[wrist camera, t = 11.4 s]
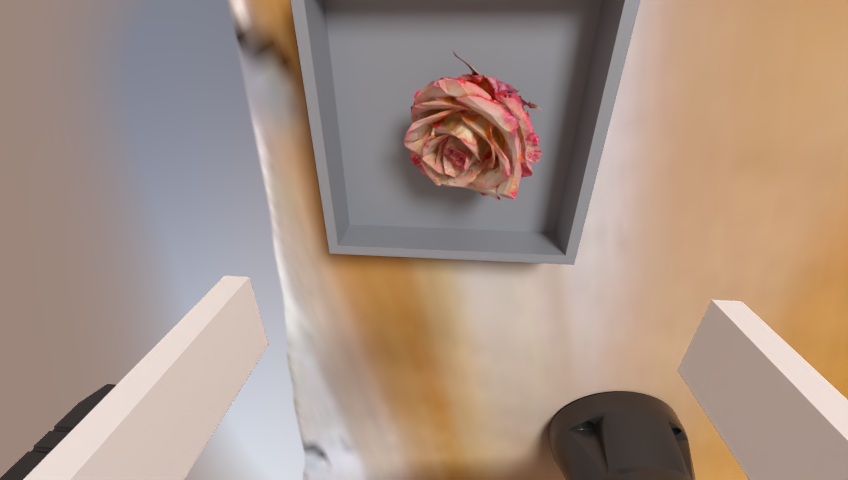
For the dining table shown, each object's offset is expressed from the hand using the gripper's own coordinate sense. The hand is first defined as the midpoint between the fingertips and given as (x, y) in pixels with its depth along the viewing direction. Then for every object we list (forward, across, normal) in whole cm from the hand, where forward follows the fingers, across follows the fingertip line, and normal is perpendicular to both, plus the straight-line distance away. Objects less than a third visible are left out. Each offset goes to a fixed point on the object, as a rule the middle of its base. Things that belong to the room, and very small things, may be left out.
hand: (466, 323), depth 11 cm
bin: (+21, +1, -2) cm, 21 cm away
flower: (+20, 0, -2) cm, 20 cm away
